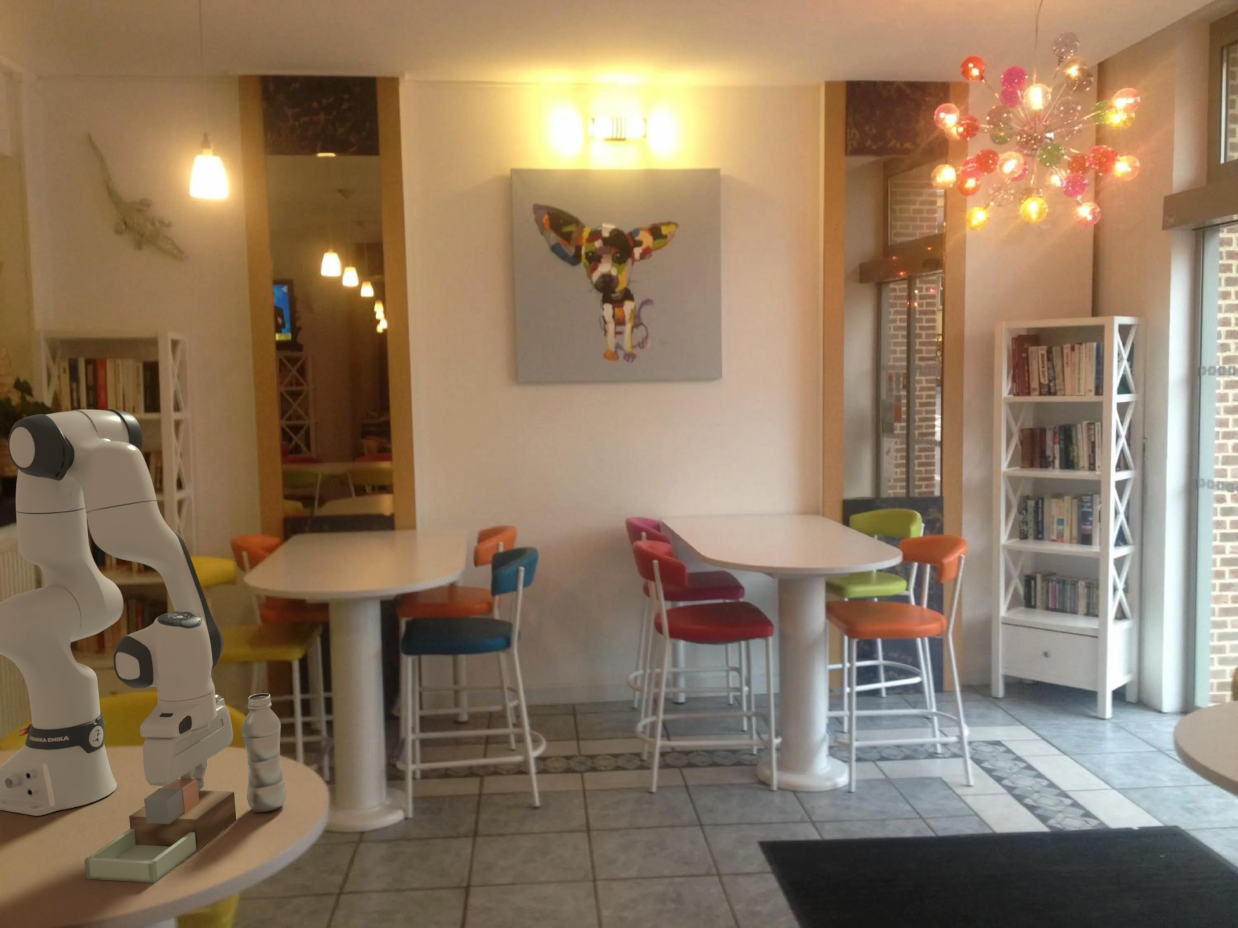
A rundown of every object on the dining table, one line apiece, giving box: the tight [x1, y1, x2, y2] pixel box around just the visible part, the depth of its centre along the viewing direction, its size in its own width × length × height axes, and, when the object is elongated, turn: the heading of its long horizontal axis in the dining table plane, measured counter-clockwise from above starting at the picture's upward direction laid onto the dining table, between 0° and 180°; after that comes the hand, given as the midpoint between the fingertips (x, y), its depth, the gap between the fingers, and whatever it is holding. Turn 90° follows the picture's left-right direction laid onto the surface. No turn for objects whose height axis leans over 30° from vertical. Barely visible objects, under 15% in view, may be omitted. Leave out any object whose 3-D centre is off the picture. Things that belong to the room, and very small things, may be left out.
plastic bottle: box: [241, 692, 287, 813], centre depth 184 cm, size 6×7×20 cm
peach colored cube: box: [161, 778, 199, 813], centre depth 174 cm, size 4×4×4 cm
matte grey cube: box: [143, 787, 184, 824], centre depth 170 cm, size 4×4×4 cm
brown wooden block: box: [128, 789, 237, 851], centre depth 176 cm, size 12×11×5 cm
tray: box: [84, 828, 197, 884], centre depth 165 cm, size 12×11×3 cm
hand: (194, 790), depth 178 cm, fingers closed
